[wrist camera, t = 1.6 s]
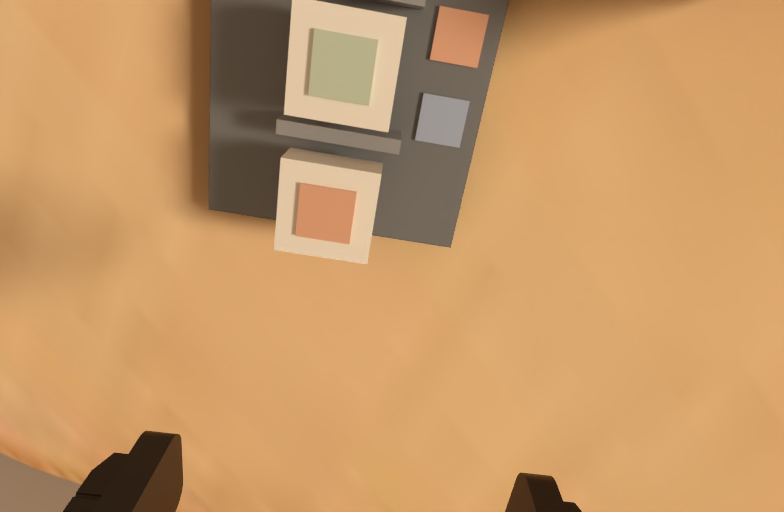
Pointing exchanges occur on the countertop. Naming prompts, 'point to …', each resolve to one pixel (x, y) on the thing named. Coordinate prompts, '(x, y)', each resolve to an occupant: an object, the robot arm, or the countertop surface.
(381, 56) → the key
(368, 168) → the key
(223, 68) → the keypad board
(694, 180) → the countertop surface
